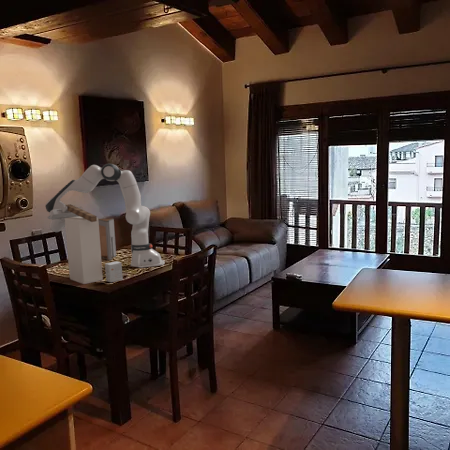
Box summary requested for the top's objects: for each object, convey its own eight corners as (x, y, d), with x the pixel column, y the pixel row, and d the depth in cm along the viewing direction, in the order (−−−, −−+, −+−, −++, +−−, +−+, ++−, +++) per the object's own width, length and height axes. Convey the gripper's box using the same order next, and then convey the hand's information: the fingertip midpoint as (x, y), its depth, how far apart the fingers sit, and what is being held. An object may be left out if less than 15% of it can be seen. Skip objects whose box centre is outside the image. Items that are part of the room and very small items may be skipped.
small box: (118, 278, 280) (117, 261, 279) (122, 279, 276) (121, 262, 275) (106, 280, 275) (104, 263, 274) (110, 282, 271) (109, 264, 270)
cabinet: (98, 256, 347) (95, 218, 343) (110, 254, 352) (108, 217, 348) (109, 260, 330) (106, 221, 326) (122, 258, 336) (119, 219, 332)
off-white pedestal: (69, 279, 283) (64, 218, 277) (88, 275, 291) (83, 215, 285) (84, 284, 270) (78, 220, 264) (102, 279, 278) (98, 217, 272)
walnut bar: (65, 209, 285) (65, 204, 284) (70, 209, 287) (70, 204, 286) (91, 221, 263) (91, 216, 262) (96, 221, 265) (96, 216, 264)
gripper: (45, 214, 286) (52, 204, 277) (76, 210, 300) (84, 200, 290) (48, 223, 285) (55, 213, 275) (79, 219, 299) (87, 209, 289)
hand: (70, 207), depth 283 cm, fingers closed on walnut bar, 3 cm apart
